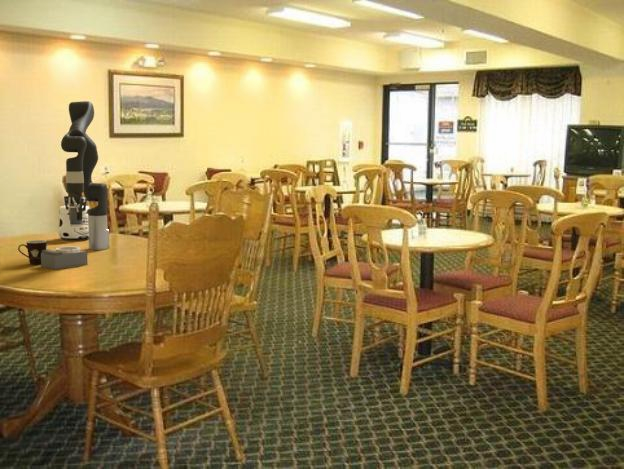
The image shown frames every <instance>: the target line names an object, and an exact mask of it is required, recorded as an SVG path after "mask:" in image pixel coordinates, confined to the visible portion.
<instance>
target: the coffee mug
mask: <svg viewBox="0 0 624 469" xmlns="http://www.w3.org/2000/svg"><path fill="white" fill-rule="evenodd" d="M47 243H48V241H47V240H44V239H43V240H42V239H41V240H40V239H35V240H33V239H32V240H27V241H26V244H24V243H23V244H19V246H18V247H17V251H18V252H19V253H20V254H21V255H22V256H25V257H26V258H28V261H29V265H31V266H41V253H42V250H47V247H48V244H47ZM23 246H24V248H26V250H27V254H28V255H27V254H25V253H24V252H23V251H21V249H20V248H21V247H23Z"/></svg>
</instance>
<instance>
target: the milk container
mask: <svg viewBox="0 0 624 469" xmlns="http://www.w3.org/2000/svg"><path fill="white" fill-rule="evenodd" d="M68 207H69V206H68ZM82 208H83V206H82ZM58 209H59V210H58V213H59V216H58V217H59V225H58V229H57V230H58V237H59V238H60V239H62V240H66V241H81V240H88V239H89V230H88V210H89V209H90V206H88V205H86V210H85V211H83V212H82V224H81V226H80V227H71V224H70V219H69V211H68V209H66V207H65V205H61V206H59V208H58Z"/></svg>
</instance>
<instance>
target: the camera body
mask: <svg viewBox="0 0 624 469" xmlns="http://www.w3.org/2000/svg"><path fill="white" fill-rule="evenodd" d="M87 265H88V251H86V250H83V249H82V250H81V247H80V246H60V247H57V248H55V250H54V249H47V248H46V250H42V253H41V265H40V266H41V267H42V268H47V269H50V270H62V269H68V268H69V269H71V268H74V267H75V268H77V267H81V266H87Z"/></svg>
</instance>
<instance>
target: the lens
mask: <svg viewBox="0 0 624 469" xmlns="http://www.w3.org/2000/svg"><path fill="white" fill-rule="evenodd" d="M69 207H70V224H71V227H80V226H81V224H82V220H81V221H78V220H77V210H76V207H75V206H69Z"/></svg>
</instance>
